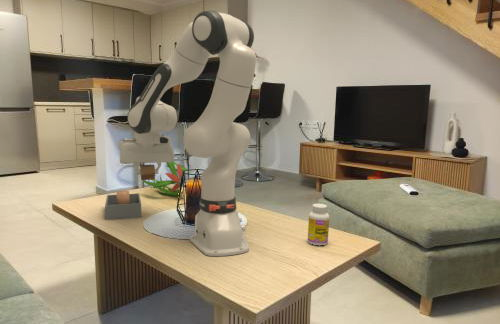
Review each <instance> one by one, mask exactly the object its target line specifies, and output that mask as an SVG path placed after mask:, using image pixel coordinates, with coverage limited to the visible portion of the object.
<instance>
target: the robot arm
mask: <svg viewBox="0 0 500 324" xmlns="http://www.w3.org/2000/svg"><path fill="white" fill-rule="evenodd" d="M254 40H255V33H254V30H253V28H252V26H251V25H250V24H249V23H248V22H247V21H245V20H243V19H239V18H237V17H235V16H232V15H231V14H228V13H225V12H220V11H219V12H218V11H216V10H204V11H201V12H199V13H198V14H197V15H196V16H195V17H194V20H193V21H192V22H190V23H189V24H188V25H187V26H186V28H185V30H184V31H183V33H182V34H181V35H180V38H179V39H178V41H177V44H176V46H175V49H174V50H173V52H172V53H171V54H170V56H169V58H167V60H166V61H164V63H163V64H160V65H159V67H157V68H156V70H155V71H154V73H153V74H152V76H151V78H150V79H149V81H148V83H147V84H146V85H145V87H144V89H143V91H142V92H141V94H140V95H139V96H138V97H136V99H135V103H134V104H132V106H131V107H130V108H129V110H128V112H127V124H128V126H129V127H130V129H131V130H132V131H134V138H130V137H129V138H121V139H120V140H119V141H118V143H117V145H118V150H119V162H120V163H121V164H133V167H134V168H135V170H136V175H138V176H139V175H140V176H141V168H140V169H139V167H138V166H139V165H138V164H146V163H147V164H150V163H151V164H152V163H153V164H154V163H156V165H157V167H155V175H158V174H159V170H160V168H161V166H162V163H166V162H173V161H174V162H175V150H174V147H173V145H172V144H171V143H172V138H171V137H169V136H167V135H164V134H160V133H161V132H170V131H173V130H175V128H176V127H177V125H178V123H179V114H178V111H177V110H176V108H175V107H174V106H172V105H169V104H167V103H165V102H163V101H162V100H161V98H162V97H163V95H164V94H165V93H166V92H167V91H168V90H169V89H171V88H173V87H175V86H178V85H181V84H186V83H190V82H192V81H194V80H196V79H198V77H199V76H200V75H201V74H202V73H203V71H204V69H205V67H206V65H207V62H208V60H209V59H210V56H214V55H215V56H216V55H218V58H219V67H218V71H217V74H216V78H215V82H214V84H213V89H212V93H211V96H210V99H209V101H208V103H207V106H205V109H204V110H203V112H202V113H201V115H200V116H199V117H198V119H197V120H196V121H195V122H194V123H192V124H191V125H190V126H188V127H187V128H186V130H185V132H184V133H183V138H182V139H183V141H182V142H183V147H184V149H185V151H186V152H187V154H188V155H189V156H192V157H195V158H203V159H209V158H211V159H210V162H209V164H208V165H207V167H206V168H205V169H204V170H203V172H202V174H201V177H200V179H201V180H200V181H201V183H200V187H201V189H200V192H201V193H200V194H201V195H200V197H199V209H200V210H199V211H198V212H197V213H196V214H195V217H194V234H193V235H191V236H189V241H190V242H191V243H192V244H193V245H194V246H195V247H196V248H198V249H199V250H200V251H201V253H202V254H204V255H205V256H211V257H225V256H226V257H227V256H232V255H239V254H240V255H241V254H244V253H247V252H249V251H250V247H249V244H248V241H247V238H246V234H245V232H246V225H245V224H241V223H242V221H243V219H242V218H241V217H240V216H239V211H238V210H237V200H236V196H235V189H236V188H235V187H236V185H235V184H236V174H237V170H238V165H239V163H240V160H241V158H242V155H243V154H244V152H245V151H246V150H247V149H248V148H249V145H250V143H251V133H250V131H249V129H248V127H246V126H245V125H244V124H241V123H237V122H234V121H235V120H236V118H238V117H239V116H240V115H242V113H243V112H244V111H245V109H246V107H247V104H248V103H247V102H248V100H249V95H250V92H251V89H252V86H253V82H254V77H255V72H256V65H257V63H256V62H257V56H256V53H255V51H254V50H253V49H252V46H253V43H254Z"/></svg>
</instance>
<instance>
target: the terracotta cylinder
mask: <svg viewBox="0 0 500 324" xmlns="http://www.w3.org/2000/svg"><path fill="white" fill-rule="evenodd" d="M129 194H130V190H119V191H116V195H117V205H118V204H130V197H129Z"/></svg>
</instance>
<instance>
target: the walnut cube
mask: <svg viewBox="0 0 500 324" xmlns="http://www.w3.org/2000/svg"><path fill="white" fill-rule="evenodd" d="M140 169H141V175H140V180H141V181H143V180H145V181H148V180H151V181H152V180H156V176H155V175H156V174H155V169H156V167H155V164H140Z"/></svg>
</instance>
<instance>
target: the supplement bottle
mask: <svg viewBox="0 0 500 324" xmlns="http://www.w3.org/2000/svg"><path fill="white" fill-rule="evenodd" d="M327 210H328V205H327V204H324V203H313V204H312V211H310V212H309V214H308V227H307V228H308V229H307V242H308V243H309V244H310V245H312V244H313V246H315V245H324V246H326V245H328V242H329V232H330V231H329V229H330V214H329V213H328V212H327ZM325 244H326V245H325Z"/></svg>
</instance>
